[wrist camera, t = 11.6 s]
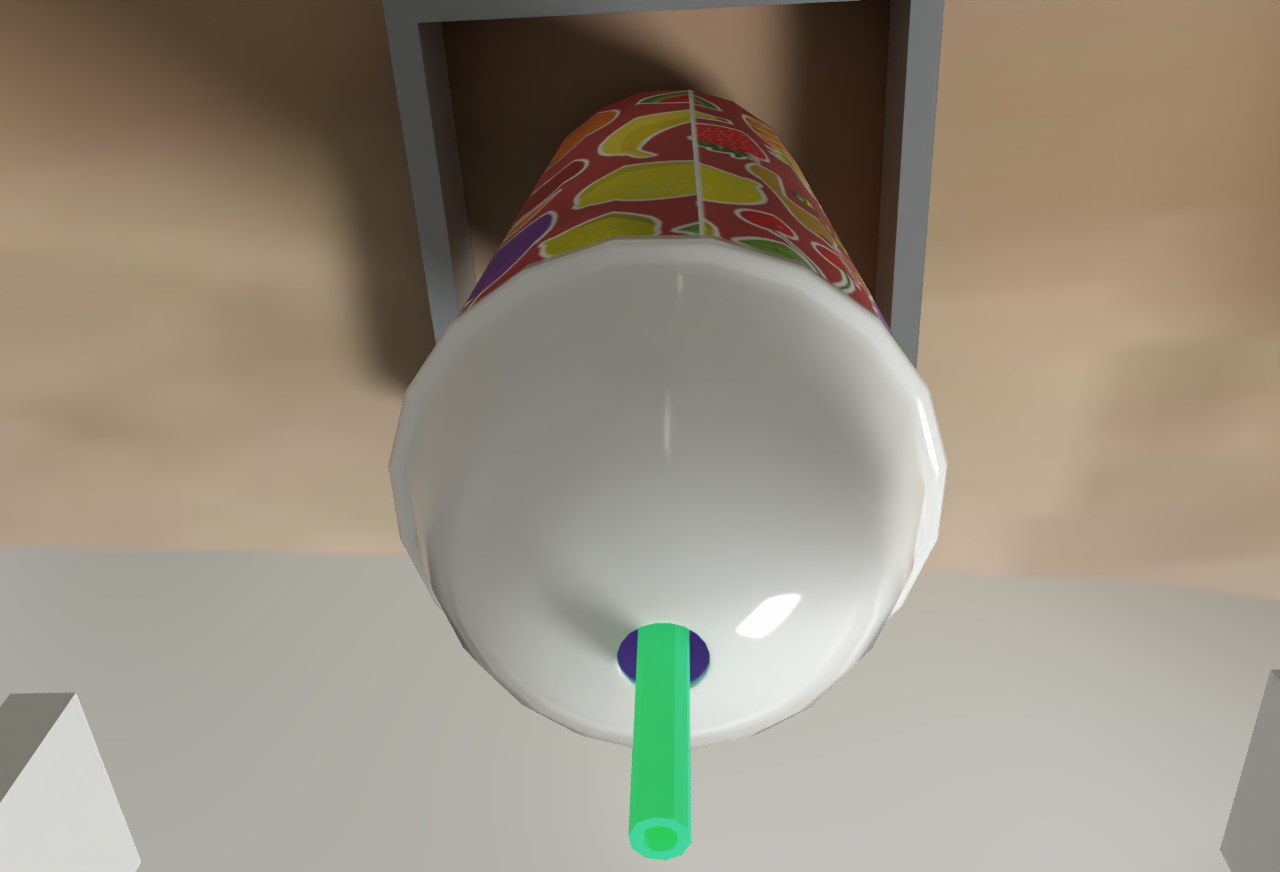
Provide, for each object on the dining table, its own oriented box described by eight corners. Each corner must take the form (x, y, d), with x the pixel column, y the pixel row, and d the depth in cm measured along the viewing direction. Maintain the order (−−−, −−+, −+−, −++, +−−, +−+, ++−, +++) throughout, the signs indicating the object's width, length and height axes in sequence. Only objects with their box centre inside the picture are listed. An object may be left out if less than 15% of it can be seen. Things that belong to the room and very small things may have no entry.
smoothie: (828, 354, 31) (1019, 1079, 13) (525, 361, 31) (331, 1074, 14) (843, 36, 27) (1148, 489, 9) (493, 48, 27) (161, 505, 10)
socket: (405, -26, 26) (380, -10, 24) (924, -54, 26) (947, -40, 23) (470, 423, 32) (455, 468, 30) (894, 409, 32) (909, 455, 29)
